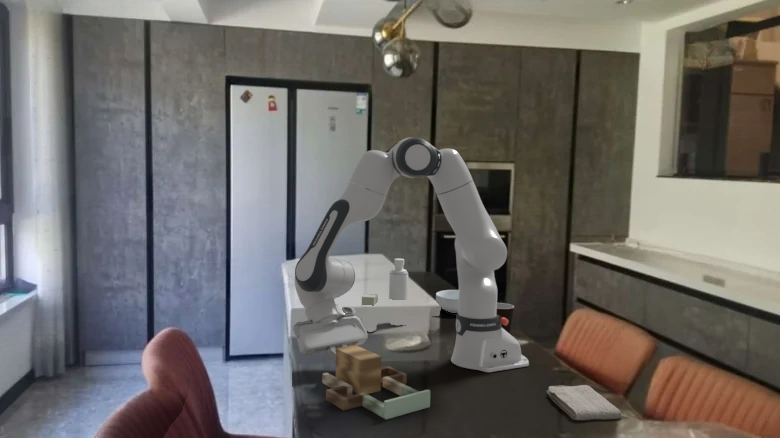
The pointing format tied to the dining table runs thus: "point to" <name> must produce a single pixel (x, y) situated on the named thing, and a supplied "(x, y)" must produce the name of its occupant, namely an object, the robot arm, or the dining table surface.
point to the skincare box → (369, 299)
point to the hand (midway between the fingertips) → (342, 362)
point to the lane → (345, 400)
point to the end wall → (406, 404)
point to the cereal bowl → (448, 300)
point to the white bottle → (398, 281)
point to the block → (359, 369)
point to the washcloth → (583, 403)
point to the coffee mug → (505, 314)
